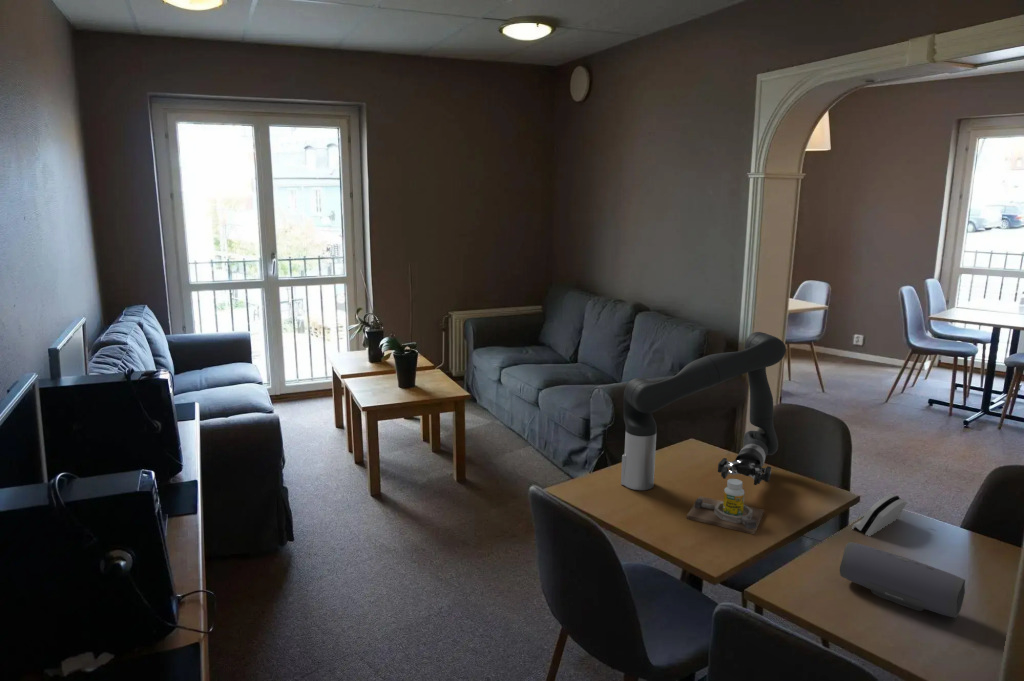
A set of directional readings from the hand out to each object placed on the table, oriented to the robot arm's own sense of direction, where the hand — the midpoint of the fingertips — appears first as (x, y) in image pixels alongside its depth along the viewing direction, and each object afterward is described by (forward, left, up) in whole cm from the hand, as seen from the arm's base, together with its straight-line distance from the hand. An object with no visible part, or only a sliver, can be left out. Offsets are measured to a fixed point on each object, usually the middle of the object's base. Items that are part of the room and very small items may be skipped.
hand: (739, 478), depth 191 cm
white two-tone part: (+36, +9, -10) cm, 38 cm away
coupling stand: (-2, -5, -9) cm, 11 cm away
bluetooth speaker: (+40, -27, -10) cm, 49 cm away
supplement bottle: (0, -5, -9) cm, 10 cm away
